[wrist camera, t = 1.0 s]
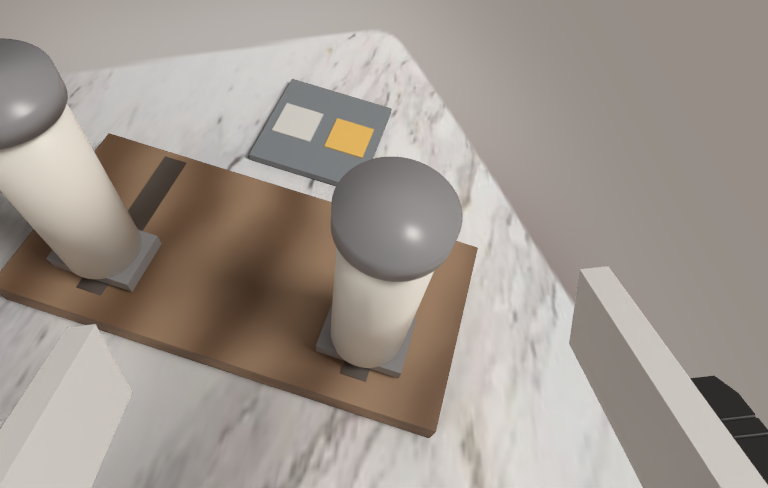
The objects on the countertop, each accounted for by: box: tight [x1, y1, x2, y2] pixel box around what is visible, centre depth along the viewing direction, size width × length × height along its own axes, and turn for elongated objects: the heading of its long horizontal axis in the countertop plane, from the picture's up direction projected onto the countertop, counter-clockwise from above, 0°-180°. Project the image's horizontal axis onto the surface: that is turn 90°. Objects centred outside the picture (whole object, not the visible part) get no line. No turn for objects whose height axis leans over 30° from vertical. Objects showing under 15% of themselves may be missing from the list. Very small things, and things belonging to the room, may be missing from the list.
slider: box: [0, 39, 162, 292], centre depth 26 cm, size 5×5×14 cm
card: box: [249, 79, 391, 186], centre depth 42 cm, size 9×9×1 cm
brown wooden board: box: [0, 134, 478, 438], centre depth 35 cm, size 28×13×2 cm, turn 74°
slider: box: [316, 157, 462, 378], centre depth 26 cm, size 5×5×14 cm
